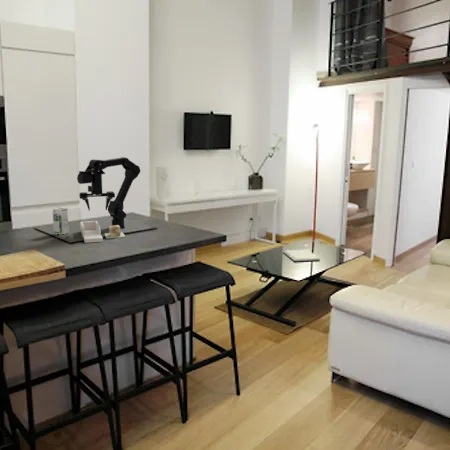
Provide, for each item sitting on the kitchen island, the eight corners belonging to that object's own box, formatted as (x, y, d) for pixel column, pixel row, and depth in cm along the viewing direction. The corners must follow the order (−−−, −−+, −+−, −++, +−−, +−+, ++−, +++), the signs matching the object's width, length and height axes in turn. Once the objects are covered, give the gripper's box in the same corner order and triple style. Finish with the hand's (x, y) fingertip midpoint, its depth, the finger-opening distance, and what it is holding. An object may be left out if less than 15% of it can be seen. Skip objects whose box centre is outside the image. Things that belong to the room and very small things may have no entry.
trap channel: (97, 230, 266) (96, 220, 264) (102, 241, 241) (102, 231, 240) (80, 231, 262) (80, 221, 261) (84, 242, 238) (84, 232, 237)
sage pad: (122, 233, 260) (122, 232, 260) (125, 237, 251) (125, 236, 251) (104, 234, 256) (104, 233, 256) (106, 238, 247) (106, 237, 247)
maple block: (118, 233, 256) (118, 225, 255) (120, 236, 251) (120, 226, 250) (109, 234, 254) (109, 225, 253) (111, 236, 249) (110, 227, 248)
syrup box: (53, 234, 255) (51, 208, 252) (61, 232, 260) (60, 206, 257) (60, 235, 252) (59, 209, 249) (69, 233, 257) (67, 207, 254)
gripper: (111, 180, 269) (112, 207, 272) (78, 181, 262) (79, 208, 265) (114, 182, 259) (115, 210, 262) (79, 183, 252) (80, 212, 255)
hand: (97, 210), depth 261 cm, fingers open, 9 cm apart
